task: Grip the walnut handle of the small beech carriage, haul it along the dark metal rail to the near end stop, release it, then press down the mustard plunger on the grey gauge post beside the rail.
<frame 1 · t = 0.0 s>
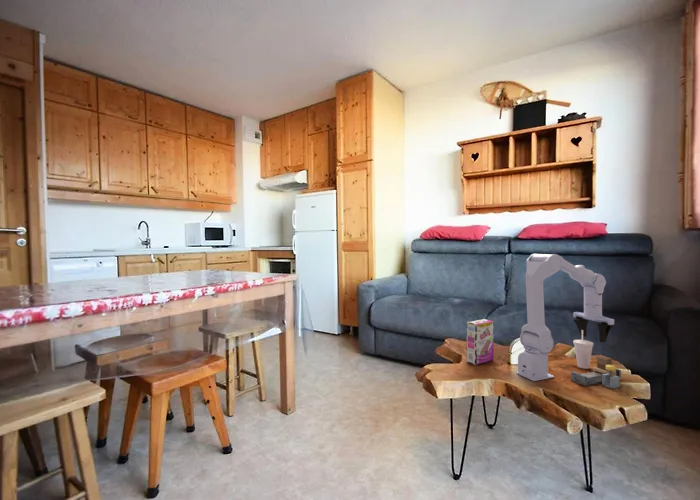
hand: (592, 339, 131), 10 cm above the table, tool pointing down, fingers open, 7 cm apart
rail: (596, 379, 118), on the table
gauge button: (610, 373, 112), point 4 cm above the table, slide at 0.0 cm
smoothie: (583, 367, 130), on the table
carriage: (604, 366, 119), point 4 cm above the table, slide at 0.0 cm
candy bar box: (480, 361, 138), on the table
gauge post: (610, 386, 112), on the table
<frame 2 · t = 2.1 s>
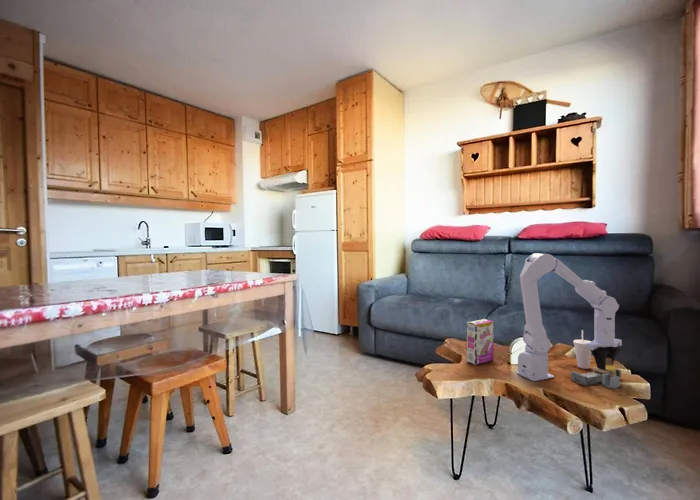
hand: (604, 367, 119), 4 cm above the table, tool pointing down, fingers closed on carriage, 3 cm apart
carriage: (604, 366, 119), point 4 cm above the table, slide at 0.0 cm, touching gripper
everything else where it was.
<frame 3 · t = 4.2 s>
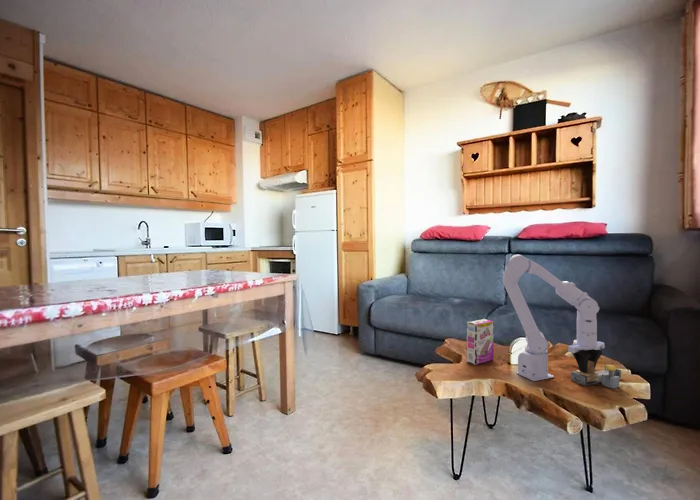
hand: (586, 370, 117), 4 cm above the table, tool pointing down, fingers closed on carriage, 3 cm apart
carriage: (586, 369, 117), point 4 cm above the table, slide at 8.5 cm, touching gripper
everything else where it was.
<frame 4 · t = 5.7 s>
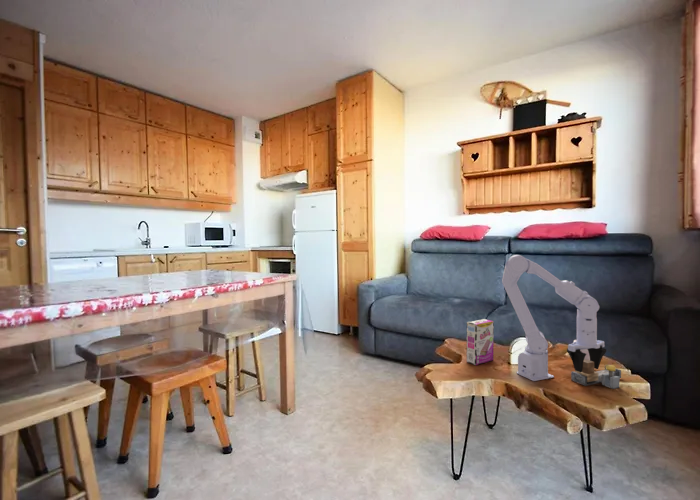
hand: (586, 369, 117), 4 cm above the table, tool pointing down, fingers open, 7 cm apart
carriage: (586, 369, 117), point 4 cm above the table, slide at 8.5 cm
everything else where it was.
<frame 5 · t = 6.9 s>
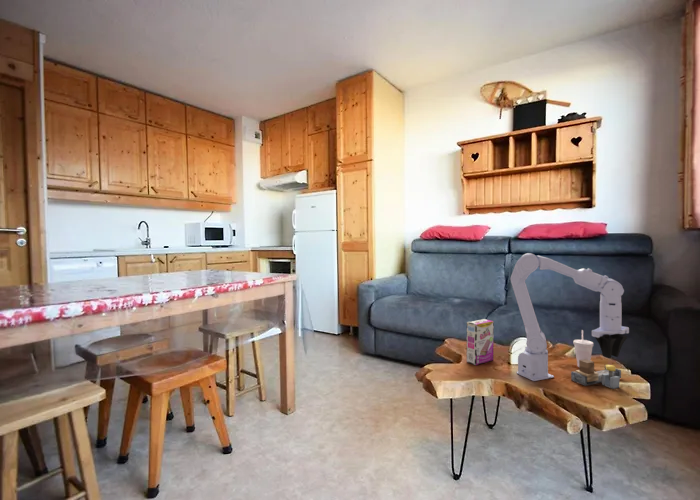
hand: (610, 356, 112), 10 cm above the table, tool pointing down, fingers open, 3 cm apart
nothing on the table moved.
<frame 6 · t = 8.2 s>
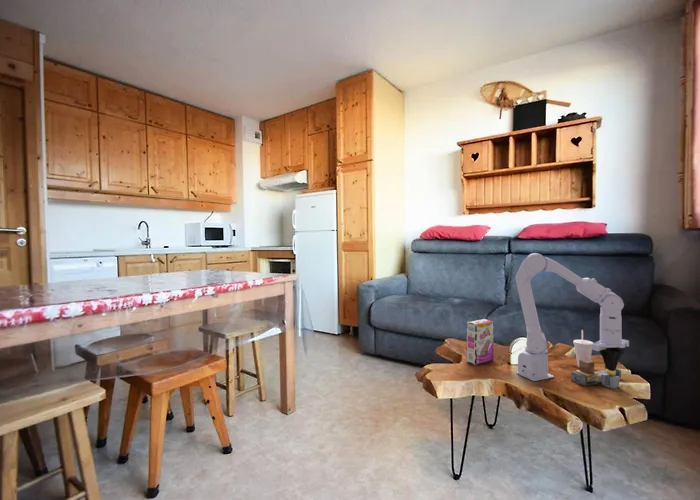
hand: (610, 369, 112), 5 cm above the table, tool pointing down, fingers closed, pressing on gauge button
gauge button: (610, 376, 112), point 3 cm above the table, slide at 1.2 cm, touching gripper
everything else where it was.
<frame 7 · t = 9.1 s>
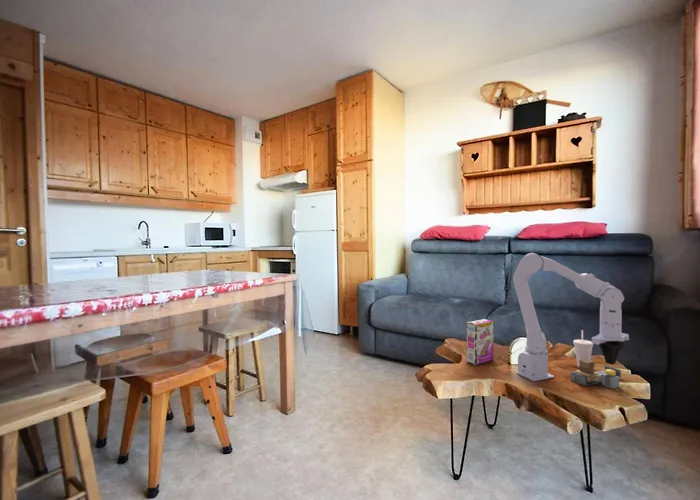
hand: (610, 363, 112), 8 cm above the table, tool pointing down, fingers closed
gauge button: (610, 377, 112), point 3 cm above the table, slide at 1.5 cm
everything else where it was.
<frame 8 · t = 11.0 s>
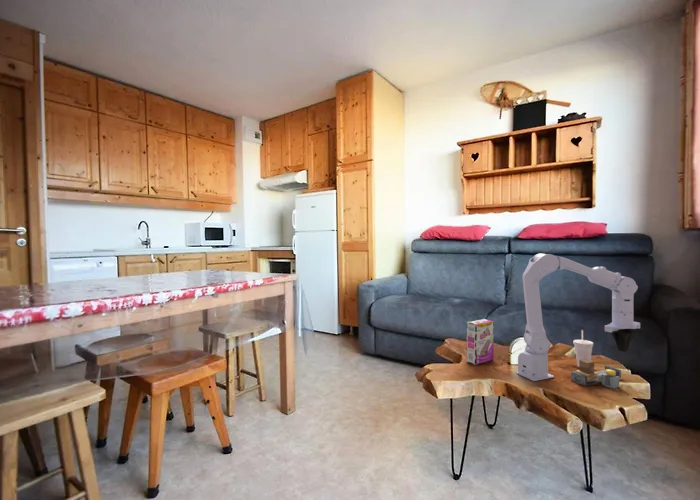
hand: (622, 350, 116), 10 cm above the table, tool pointing down, fingers closed
nothing on the table moved.
at the end: carriage slide at 8.5 cm; gauge button slide at 1.5 cm; the gripper is holding nothing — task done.
